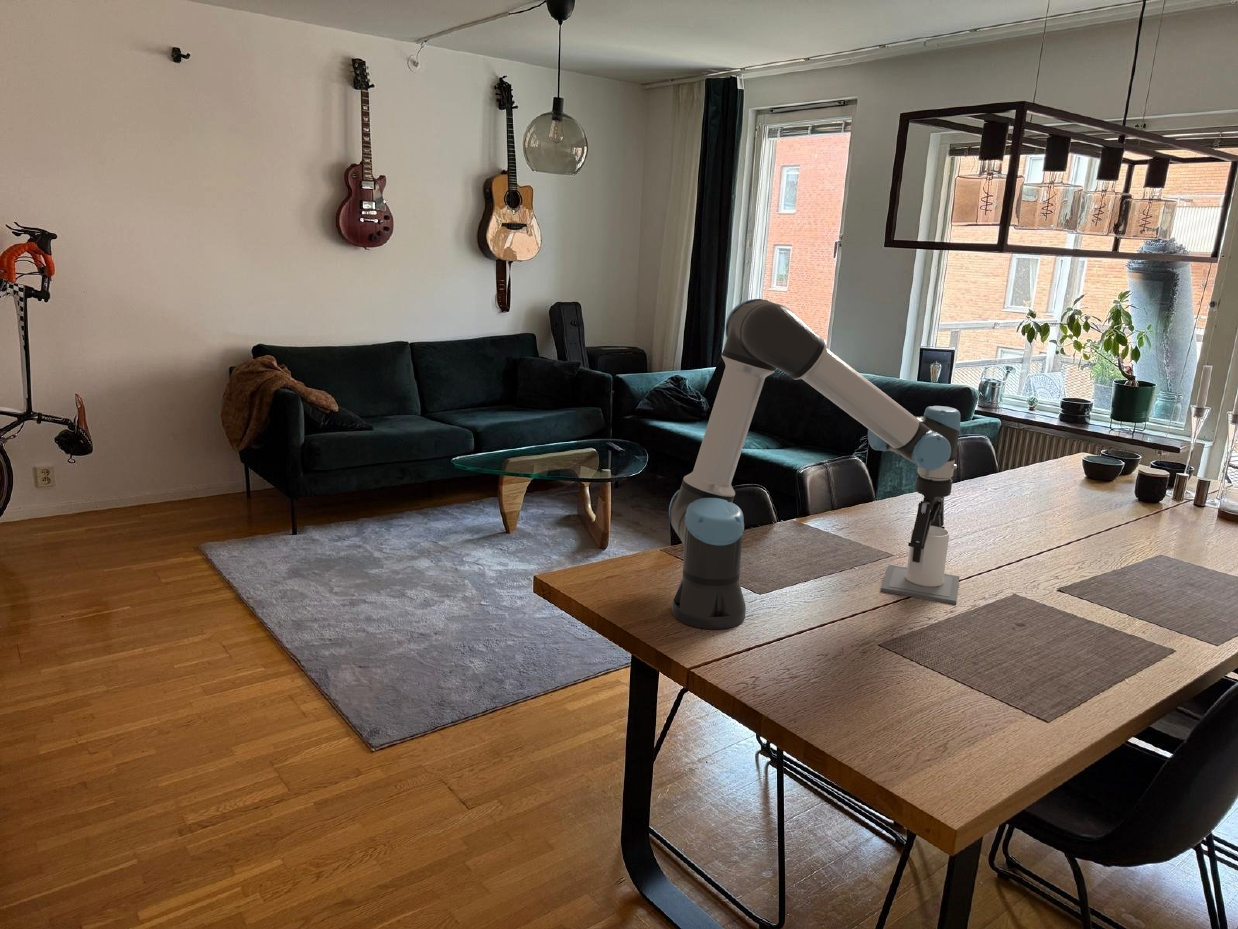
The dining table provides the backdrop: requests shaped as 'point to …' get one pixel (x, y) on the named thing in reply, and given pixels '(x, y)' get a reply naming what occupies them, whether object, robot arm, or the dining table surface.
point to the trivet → (919, 586)
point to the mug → (932, 559)
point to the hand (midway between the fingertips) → (923, 566)
